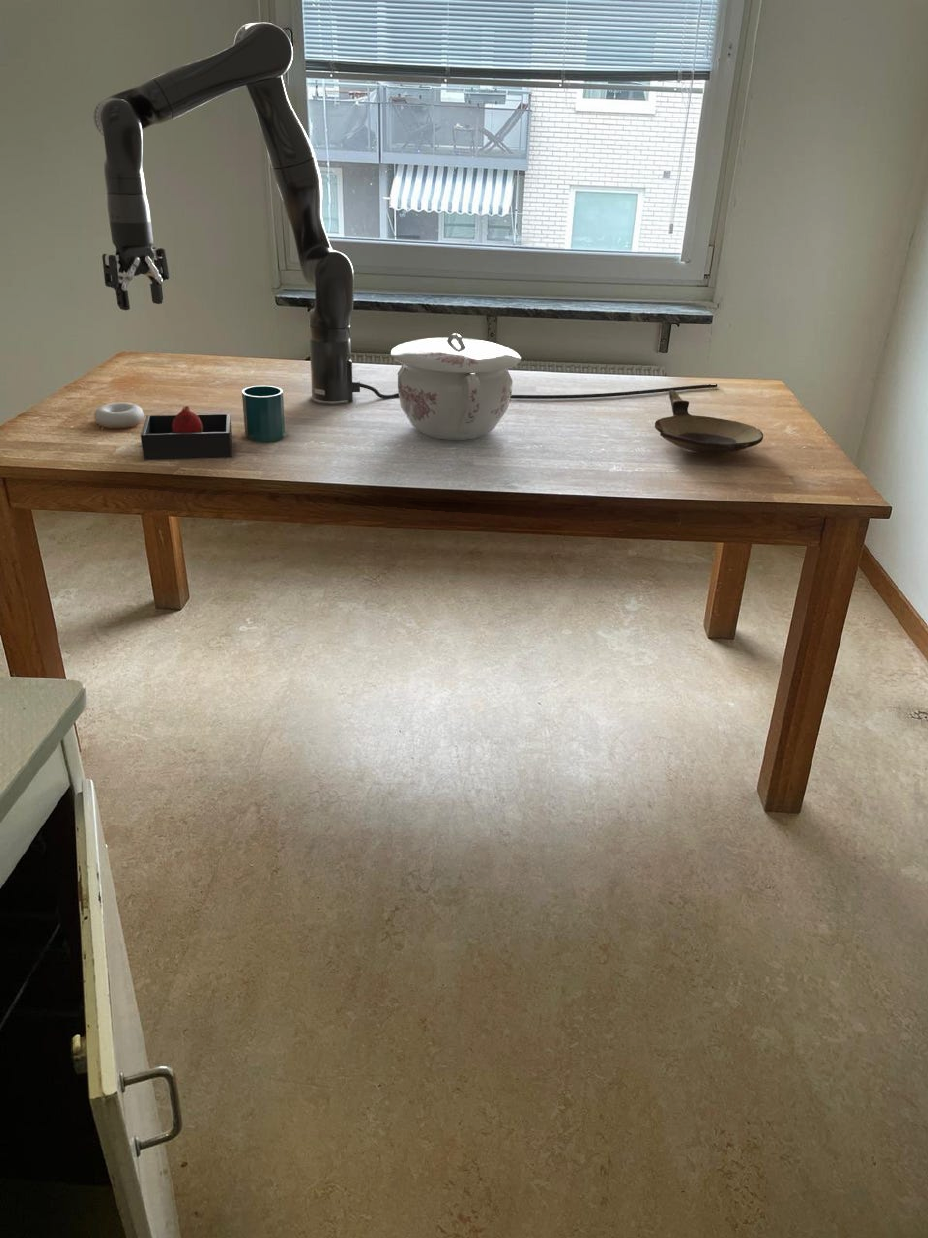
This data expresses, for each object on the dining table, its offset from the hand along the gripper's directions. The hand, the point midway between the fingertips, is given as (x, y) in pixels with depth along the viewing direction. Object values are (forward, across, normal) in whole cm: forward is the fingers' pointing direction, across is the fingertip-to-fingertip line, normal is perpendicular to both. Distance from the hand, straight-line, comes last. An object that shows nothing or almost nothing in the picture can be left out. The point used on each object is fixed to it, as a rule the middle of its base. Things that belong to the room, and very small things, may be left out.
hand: (141, 306), depth 179 cm
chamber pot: (+24, +34, -54) cm, 68 cm away
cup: (+24, +7, -24) cm, 35 cm away
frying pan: (+24, +59, -103) cm, 121 cm away
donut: (+24, -5, +6) cm, 25 cm away
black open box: (+24, -7, -17) cm, 30 cm away
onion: (+24, -7, -17) cm, 30 cm away
